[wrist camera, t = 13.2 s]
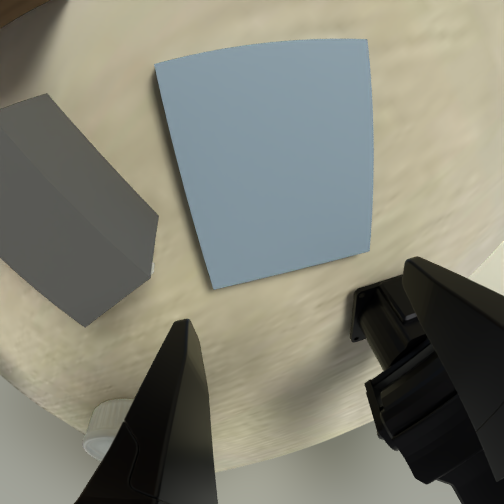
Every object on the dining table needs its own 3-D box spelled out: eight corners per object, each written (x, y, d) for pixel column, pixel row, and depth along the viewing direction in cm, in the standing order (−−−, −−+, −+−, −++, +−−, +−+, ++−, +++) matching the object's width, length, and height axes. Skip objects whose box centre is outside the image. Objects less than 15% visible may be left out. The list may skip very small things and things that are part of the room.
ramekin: (67, 401, 27) (61, 442, 23) (146, 382, 27) (146, 430, 23) (126, 439, 34) (126, 474, 30) (199, 424, 33) (204, 463, 29)
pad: (363, 243, 22) (369, 251, 21) (212, 280, 21) (213, 289, 20) (358, 39, 14) (367, 39, 13) (156, 64, 13) (154, 64, 12)
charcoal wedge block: (171, 228, 19) (168, 293, 14) (117, 271, 20) (102, 339, 15) (47, 92, 13) (-11, 113, 8) (0, 154, 14) (-57, 197, 9)
